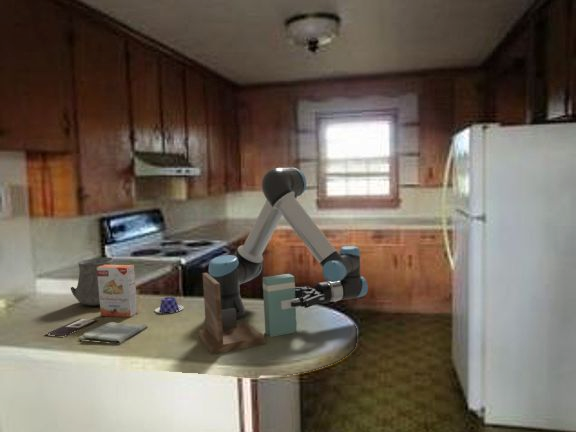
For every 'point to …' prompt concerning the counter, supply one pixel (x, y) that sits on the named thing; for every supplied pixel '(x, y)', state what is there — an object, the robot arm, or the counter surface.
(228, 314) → the bookend
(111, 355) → the counter surface
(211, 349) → the brown angled piece
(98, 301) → the vessel
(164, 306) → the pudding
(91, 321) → the chocolate bar
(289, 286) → the book
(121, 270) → the cracker box
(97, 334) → the dish towel
